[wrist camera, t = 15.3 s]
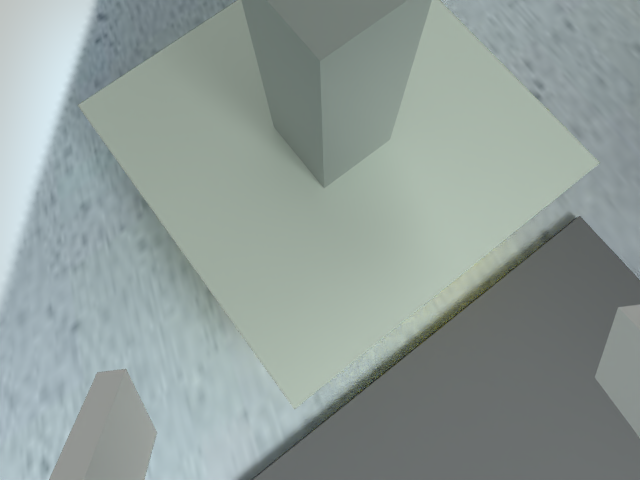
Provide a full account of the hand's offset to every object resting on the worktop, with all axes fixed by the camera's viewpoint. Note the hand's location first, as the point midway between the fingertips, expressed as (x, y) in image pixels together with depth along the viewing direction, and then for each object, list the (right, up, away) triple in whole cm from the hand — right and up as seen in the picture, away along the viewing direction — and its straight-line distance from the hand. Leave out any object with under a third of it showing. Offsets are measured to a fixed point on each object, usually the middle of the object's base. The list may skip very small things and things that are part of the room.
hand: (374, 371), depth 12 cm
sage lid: (-1, +9, +11) cm, 14 cm away
